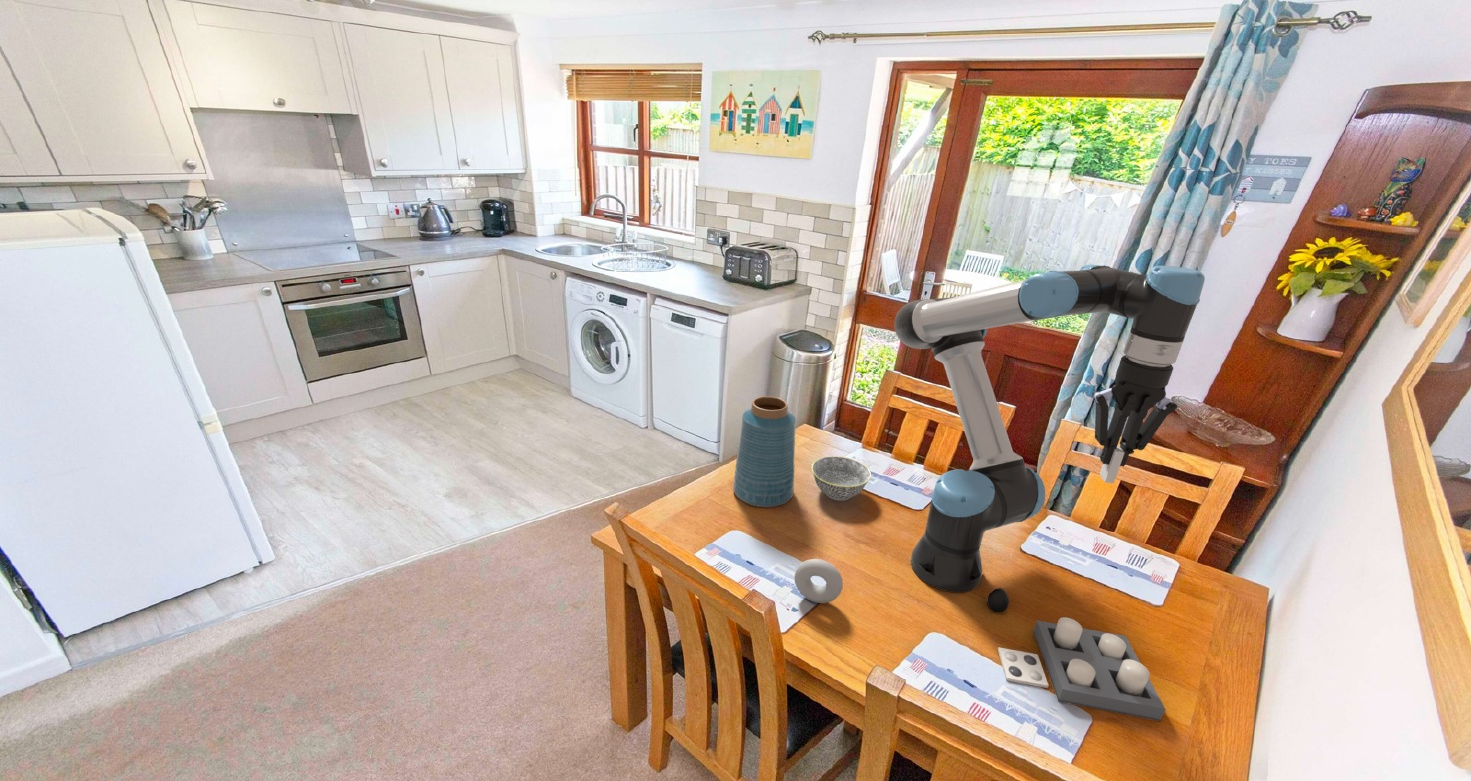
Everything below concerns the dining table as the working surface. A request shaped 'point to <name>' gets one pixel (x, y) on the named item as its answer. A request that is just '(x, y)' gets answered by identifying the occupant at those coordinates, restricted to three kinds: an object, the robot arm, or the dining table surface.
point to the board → (1106, 669)
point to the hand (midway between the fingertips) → (1106, 478)
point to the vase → (766, 454)
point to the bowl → (840, 477)
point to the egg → (998, 600)
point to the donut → (822, 570)
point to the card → (1022, 667)
